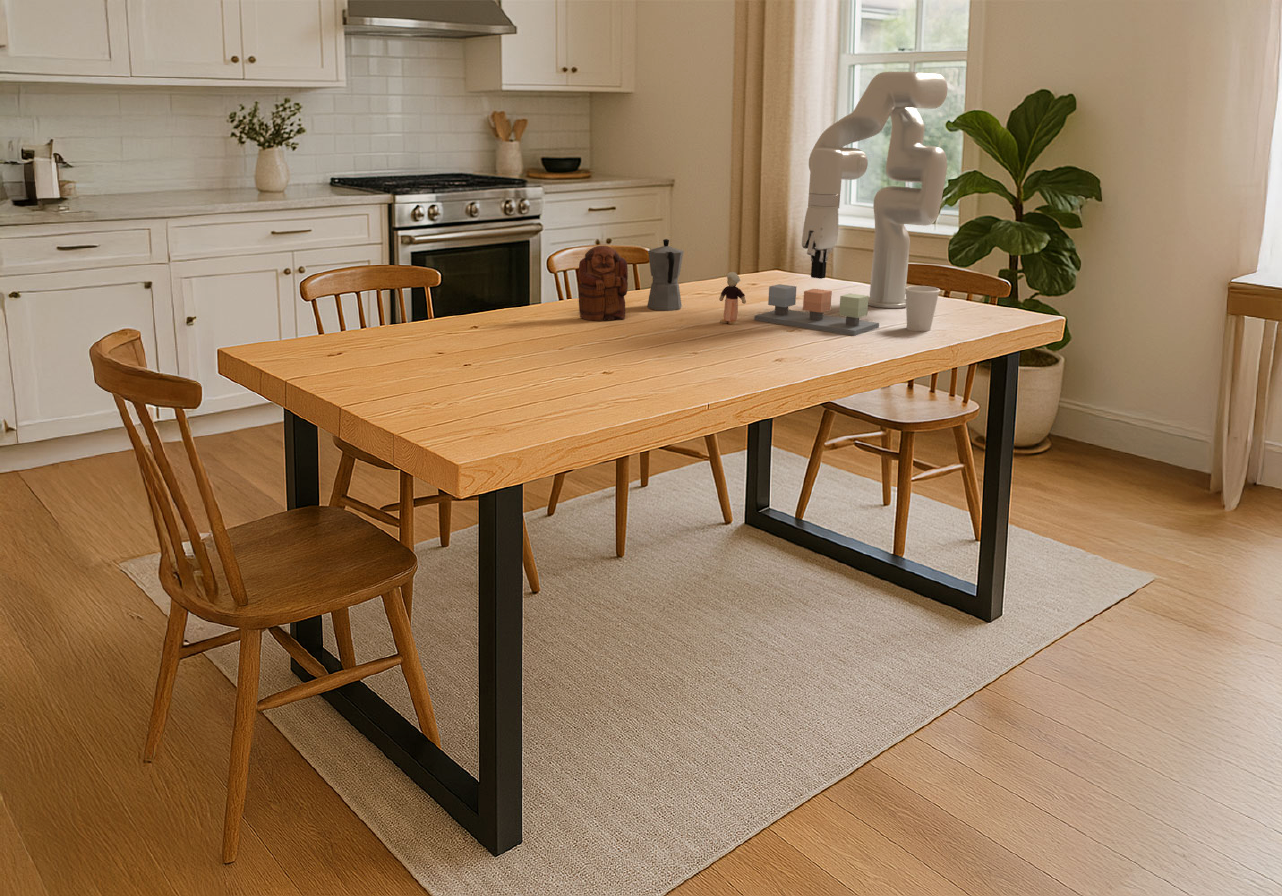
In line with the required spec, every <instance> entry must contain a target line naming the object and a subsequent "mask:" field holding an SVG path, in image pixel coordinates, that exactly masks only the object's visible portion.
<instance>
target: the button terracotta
mask: <svg viewBox="0 0 1282 896" xmlns="http://www.w3.org/2000/svg"><path fill="white" fill-rule="evenodd" d="M832 295H833V293H832V290H827V289H820V288H819V289H818V288H812V289H807V290H803V301H802V302H803V303H802V310H803V311H805V312H810V311H813V312H820V313H821V312H823V313H824V312H828V311H831V308H832Z"/></svg>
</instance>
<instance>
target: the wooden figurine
mask: <svg viewBox="0 0 1282 896" xmlns="http://www.w3.org/2000/svg"><path fill="white" fill-rule="evenodd" d="M628 271H629V268H628V262H627V260H626V259H625V258H623V257H621V256H620V254H619V252H617V251H616V250H615V249H614V248H613V247H610V246H608V245H596V246H593V247H592V248H590V249H589V250H587V252H586V253H585V254H584V257H583V258H582V259H580V261H579V264H578V280H579V282H580V283H579V286H578V309H579V316H580V318H581V319H582V320H586V321H591V322H592V321H593V322H602V321H615V320H625V319H626V300H625V296H626V295H627V293H628V289H629V288H628V287H629V286H628V285H629V282H628V279H629V278H628V277H629V275H628V274H629V273H628Z"/></svg>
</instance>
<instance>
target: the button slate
mask: <svg viewBox="0 0 1282 896" xmlns="http://www.w3.org/2000/svg"><path fill="white" fill-rule="evenodd" d="M796 298H797V286H796V285H789V284H782V283H781V284H780V283H779V284H778V283H777V284H774V285H770V286H768V301H767V305H768V306H774V307H775V306H778V307H788V308H789V307H792V306H796Z"/></svg>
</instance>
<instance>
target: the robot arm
mask: <svg viewBox="0 0 1282 896" xmlns="http://www.w3.org/2000/svg"><path fill="white" fill-rule="evenodd" d="M947 96H948V84H947V81H946V78H945V77H944V76H943V75H941V74H939V73H930V72H920V71H919V72H918V71H883V72H879V73H877V74H876V75H875V76H873V77H872V78H871V80H870V82H869V84H868V85H867V87H866V89H865V91H864V92H863V94H862V96H861V97H860V99H859V101H858V103H857V104H856V106H855V108H854V110H853V111H852V112H851V113H848V114H847V115H845V116H843V117H842V118H840V119H839V120H837V121H836V122H834V123H832V124H831V125H830V126H829V127H827V128H826V129H825V130H824V131H823V132H822V133H821V134H820V136H819V138H817V141H816V142H815V144H814V146H813V148H812V149H811V152H810V153H809V154H810V155H809V158H808V169H809V172H810V173H809V187H808V198H807V208H806V211H805V212H806V213H805V216H804V222H803V229H802V238H801V239H802V240H801V247H802V248H803V249H807V251H806V253H807V255H808V256H810V261H811V269H810V278H812V279H820V280H821V279H822V280H823V279H825V278H826V275H827V274H826V273H827V262H828V260H829V254H831V253H832V252H833V250H834V249H833V248H835V247H836V246H837V243H838V237H839V236H838V235H839V209H840V204H841V201H840V200H841V191H842V180H846V181H847V180H848V181H852V180H853V181H854V180H857V179H860V178H861V177H863V176H864V175H865V173H866V171H867V169H868V166H869V165H868V164H869V162H868V157H867V155H866V153H865V152H864V151H862V150H861V149H859V148H856V147H845V146H848V145H851V144H854V143H857V142H860V141H865V140H866V139H867V140H868V139H869V138H872V137H874V136H876V135H878V134H879V133H880V132H881V131H882V130H883V129H884V127H885V125H886V123H887V122H888V119H889V118H890V120H891V132H890V138H889V139H890V140H889V144H888V145H889V146H888V152H887V158H886V163H885V173H886V176H887V177H888V178H889V179H890V180H892V181H895V182H902V183H914V184H915V183H917V184H921V188H920V187H910V186H895V185H894V186H886V187H883V188H880V189H879V190H878V191H877V192H876V194H875V196H874V198H873V206H872V207H873V217H874V240H873V253H872V263H871V273H870V274H871V275H870V287H869V298H868V307H869V306H870V307H875V308H884V309H899V308H901V309H902V308H906V290H905V288H906V287H907V282H908V281H907V278H908V270H909V258H910V247H911V238H910V234H909V232H908V230H907V228H906V226H905V225H912V226H930V225H933V224H934V223H935V222H936V221H937V218H938V216H939V213H940V209H941V205H942V200H943V194H944V193H943V192H944V188H945V183H946V178H947V171H948V158H947V154H946V152H945V151H944V149H942V147H938V146H934V145H924V144H923V143H924V137H925V131H926V130H925V129H926V126H925V125H926V124H925V122H924V119H923V117H922V115H921V114H920V112H919V111H918V109H929V110H930V109H932V110H933V109H935V110H936V109H938V108H940V107H941V106H942V105H943V104H944V102H945V101H946V98H947Z"/></svg>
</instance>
